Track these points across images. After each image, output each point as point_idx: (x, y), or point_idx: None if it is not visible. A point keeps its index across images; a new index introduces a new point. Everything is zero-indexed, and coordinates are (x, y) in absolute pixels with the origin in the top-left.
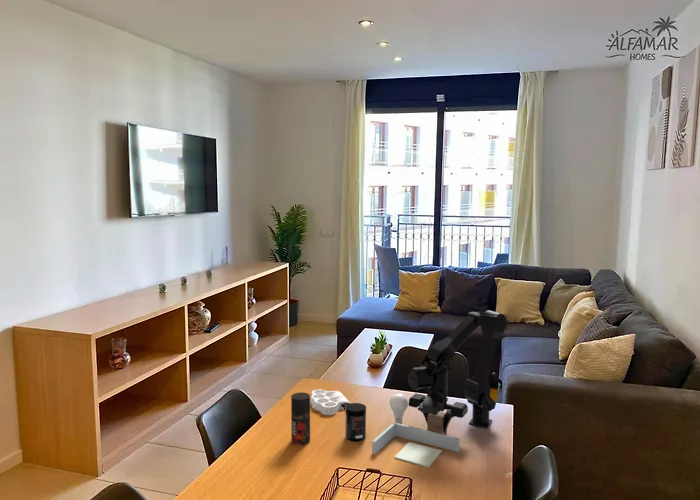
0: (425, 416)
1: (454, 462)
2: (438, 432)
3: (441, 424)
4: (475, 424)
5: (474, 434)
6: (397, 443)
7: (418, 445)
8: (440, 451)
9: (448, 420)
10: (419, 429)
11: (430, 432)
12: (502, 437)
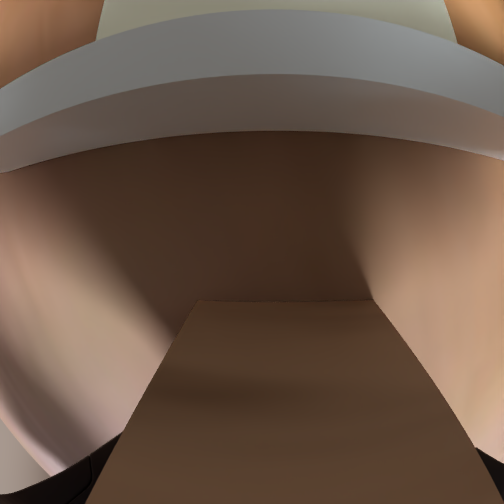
0: (495, 475)
1: (22, 16)
2: (225, 339)
3: (131, 434)
4: None
5: (74, 435)
6: (497, 32)
7: (352, 1)
8: (103, 21)
9: (29, 487)
10: (495, 73)
11: (247, 17)
12: (7, 419)
